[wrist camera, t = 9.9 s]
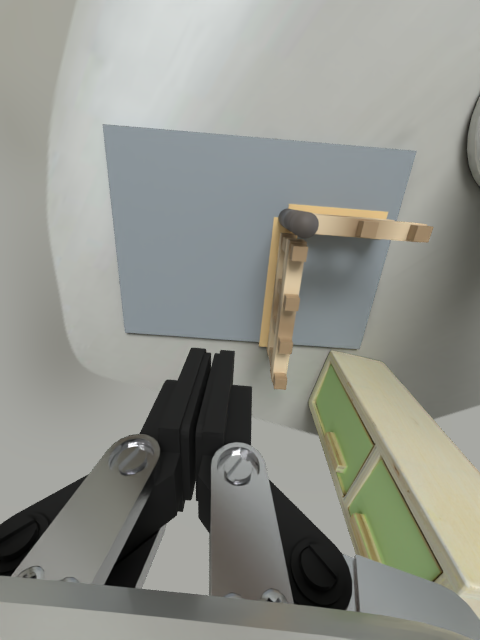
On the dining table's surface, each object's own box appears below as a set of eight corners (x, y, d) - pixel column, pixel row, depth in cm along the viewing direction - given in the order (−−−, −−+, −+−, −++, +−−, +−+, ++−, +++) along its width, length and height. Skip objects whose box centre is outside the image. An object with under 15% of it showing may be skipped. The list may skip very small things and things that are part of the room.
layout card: (413, 151, 23) (417, 150, 22) (356, 350, 31) (358, 353, 30) (105, 125, 23) (102, 123, 22) (127, 334, 30) (125, 336, 30)
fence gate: (279, 231, 25) (292, 242, 18) (292, 232, 25) (310, 244, 18) (266, 347, 30) (272, 388, 23) (277, 347, 30) (286, 389, 23)
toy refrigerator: (323, 346, 31) (458, 588, 11) (384, 359, 31) (606, 611, 12) (300, 400, 34) (376, 662, 15) (355, 411, 34) (497, 677, 15)
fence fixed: (379, 215, 25) (444, 222, 17) (375, 233, 26) (434, 248, 18) (278, 207, 25) (295, 211, 17) (276, 226, 26) (291, 237, 18)
